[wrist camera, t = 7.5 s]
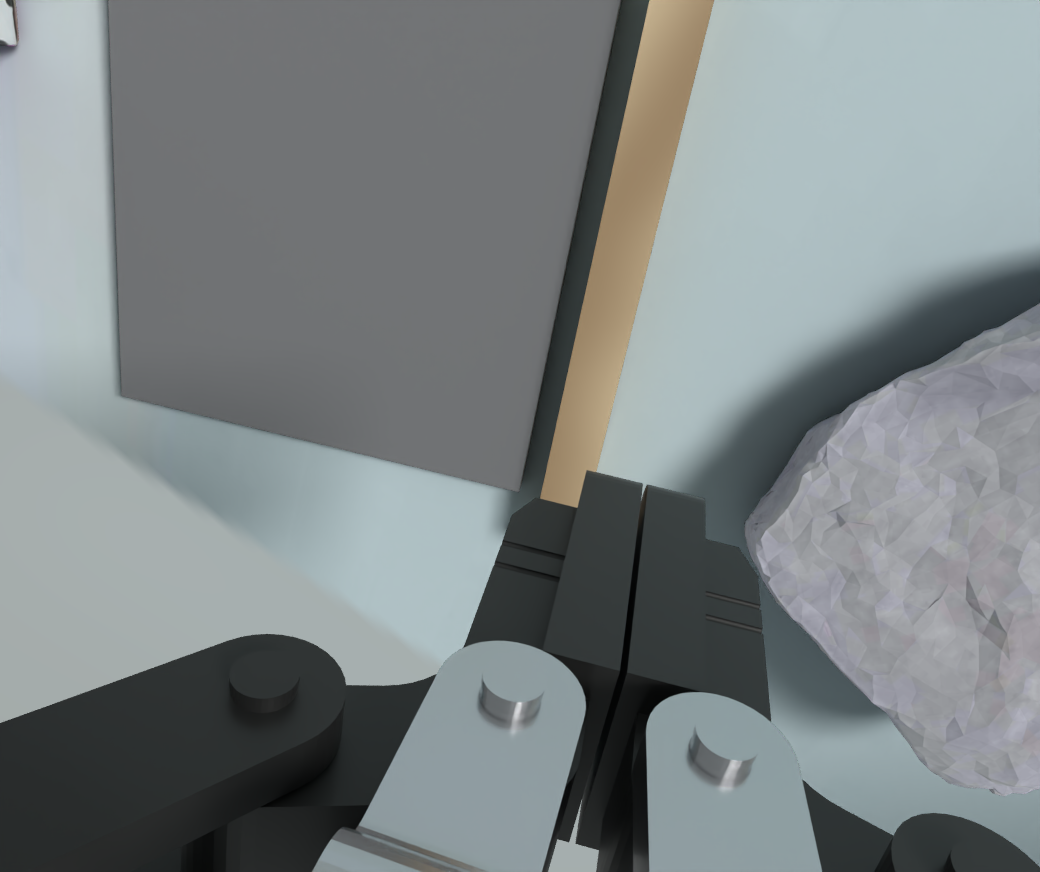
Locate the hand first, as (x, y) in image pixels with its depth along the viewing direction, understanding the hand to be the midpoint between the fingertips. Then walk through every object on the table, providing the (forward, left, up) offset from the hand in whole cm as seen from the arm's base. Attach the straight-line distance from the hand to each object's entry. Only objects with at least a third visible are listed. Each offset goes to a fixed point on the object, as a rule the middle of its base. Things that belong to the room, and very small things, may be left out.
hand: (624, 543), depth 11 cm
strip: (+1, 0, -11) cm, 11 cm away
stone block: (-5, 0, -10) cm, 12 cm away
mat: (+8, 0, -11) cm, 13 cm away
